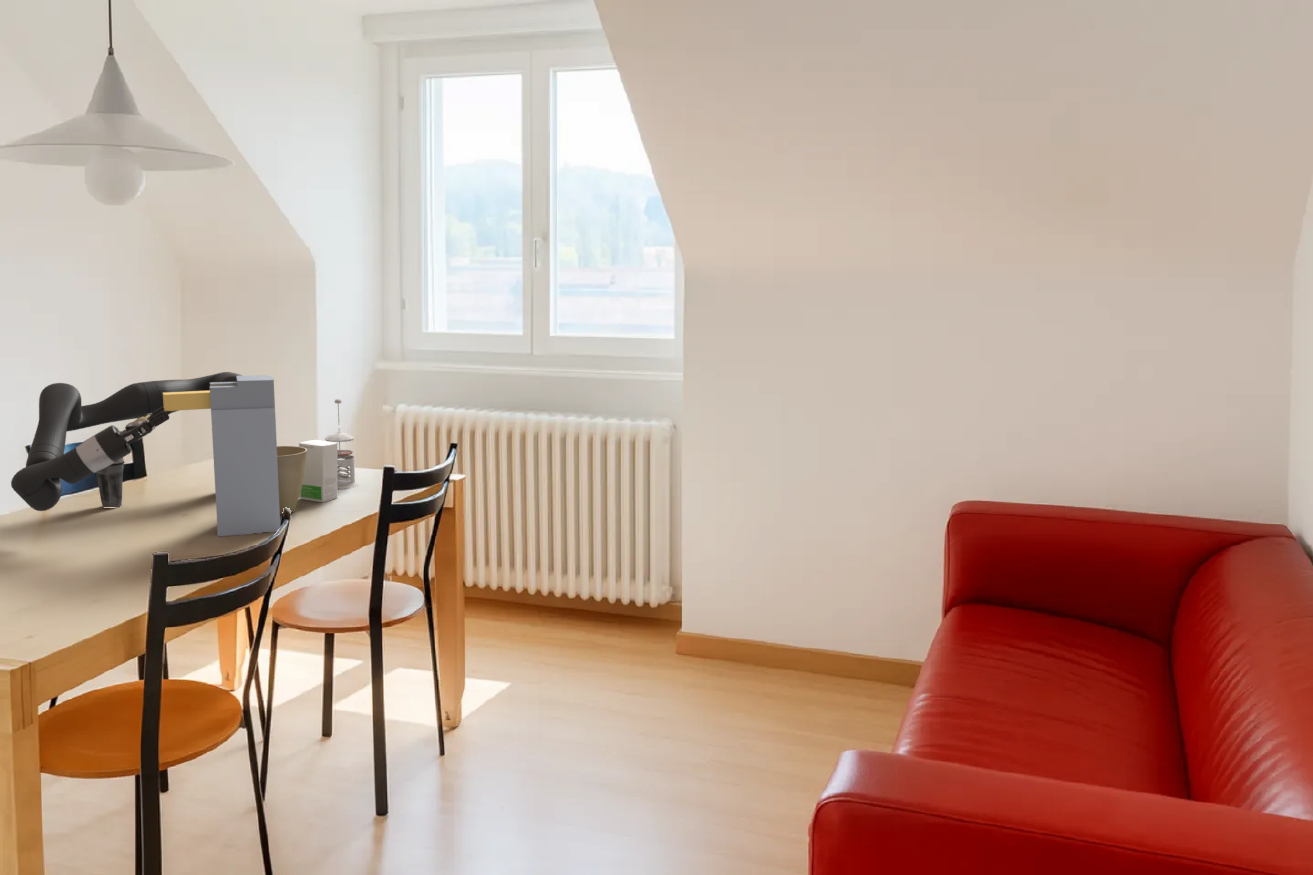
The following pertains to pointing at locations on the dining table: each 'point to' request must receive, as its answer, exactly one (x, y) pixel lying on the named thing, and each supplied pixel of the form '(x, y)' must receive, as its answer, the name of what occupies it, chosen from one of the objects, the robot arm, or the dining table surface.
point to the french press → (343, 479)
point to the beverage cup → (111, 484)
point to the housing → (245, 455)
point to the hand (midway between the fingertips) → (168, 411)
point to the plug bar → (186, 400)
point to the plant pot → (290, 475)
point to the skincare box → (320, 471)
